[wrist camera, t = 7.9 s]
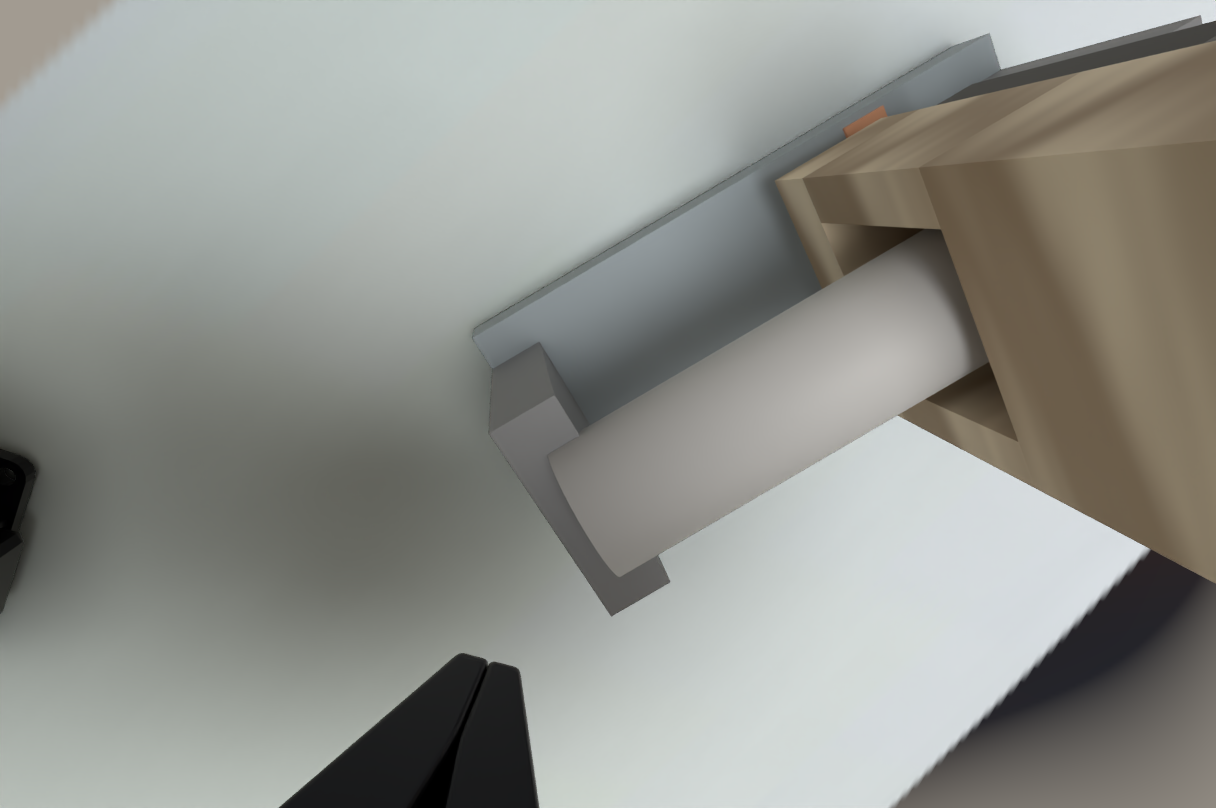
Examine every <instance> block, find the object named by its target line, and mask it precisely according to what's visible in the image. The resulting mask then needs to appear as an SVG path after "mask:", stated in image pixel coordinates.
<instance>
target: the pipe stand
mask: <svg viewBox="0 0 1216 808" xmlns="http://www.w3.org/2000/svg"><path fill="white" fill-rule="evenodd" d="M1198 25H1202V20H1201V15H1200V16H1196V17H1193V18H1189V19H1185V20H1182V21H1178V22H1174V23H1171V24H1167V25H1163V26H1160V27H1156V28H1152V29H1149V30H1145V31H1141V32H1138V33H1134V34H1130V35H1127V36H1123V37H1119V38H1116V39H1112V40H1108V41H1105V42H1101V43H1097V44H1094V45H1090V46H1086V47H1083V48H1079V49H1075V50H1072V51H1068V52H1064V53H1061V54H1057V55H1053V56H1050V57H1046V58H1042V59H1039V60H1035V61H1031V62H1028V63H1024V64H1020V65H1017V66H1013V67H1009V68H1006V69H1002V70H1001V69H1000V66H999V62H998V59H997V56H996V53H995V49H994V46H993V43H992V40H991V36H990V33H989V34H986V35H983V36H980V37H978V38H975V39H972V40H969V41H966V42H963V43H961V44H958V45H955V46H953V47H951V48H949V49H948V50H946V51H944V52H943V53H941V54H939V55H937V56H936V57H934V58H932V59H931V60H929V61H927V62H926V63H924V64H922V65H920V66H919V67H917V68H915V69H914V70H912V71H910V72H909V73H907V74H905V75H904V76H902V77H900V78H898V79H897V80H895V81H893V82H892V83H890V84H888V85H887V86H885V87H883V88H881V89H880V90H878V91H876V92H875V93H873V94H871V95H870V96H868V97H866V98H865V99H863V100H861V101H859V102H858V103H856V104H854V105H853V106H851V107H849V108H848V109H846V110H844V111H843V112H841V113H839V114H837V115H836V116H834V117H832V118H831V119H829V120H827V121H826V122H824V123H822V124H820V125H819V126H817V127H815V128H814V129H812V130H810V131H809V132H807V133H805V134H804V135H802V136H800V137H798V138H797V139H795V140H793V141H792V142H790V143H788V144H787V145H785V146H783V147H781V148H780V149H778V150H776V151H775V152H773V153H771V154H770V155H768V156H766V157H765V158H763V159H761V160H759V161H758V162H756V163H754V164H753V165H751V166H749V167H748V168H746V169H744V170H742V171H741V172H739V173H737V174H736V175H734V176H732V177H731V178H729V179H727V180H726V181H724V182H722V183H720V184H719V185H717V186H715V187H714V188H712V189H710V190H709V191H707V192H705V193H703V194H702V195H700V196H698V197H697V198H695V199H693V200H692V201H690V202H688V203H687V204H685V205H683V206H681V207H680V208H678V209H676V210H675V211H673V212H671V213H670V214H668V215H666V216H664V217H663V218H661V219H659V220H658V221H656V222H654V223H653V224H651V225H649V226H648V227H646V228H644V229H642V230H641V231H639V232H637V233H636V234H634V235H632V236H631V237H629V238H627V239H625V240H624V241H622V242H620V243H619V244H617V245H615V246H614V247H612V248H610V249H609V250H607V251H605V252H603V253H602V254H600V255H598V256H597V257H595V258H593V259H592V260H590V261H588V262H586V263H585V264H583V265H581V266H580V267H578V268H576V269H575V270H573V271H571V272H570V273H568V274H566V275H564V276H563V277H561V278H559V279H558V280H556V281H554V282H553V283H551V284H549V285H547V286H546V287H544V288H542V289H541V290H539V291H537V292H536V293H534V294H532V295H531V296H529V297H527V298H525V299H524V300H522V301H520V302H519V303H517V304H515V305H514V306H512V307H510V308H508V309H507V310H505V311H503V312H502V313H500V314H498V315H497V316H495V317H493V318H492V319H490V320H488V321H486V322H485V323H483V324H481V325H480V326H478V327H476V328H475V329H474V332H473V337H472V339H473V340H474V342H475V344H476V345H477V347H478V348H479V350H480V351H481V353H482V354H483V356H484V357H485V359H486V361H487V362H488V364H489V365H490V367H491V368H492V381H491V399H490V417H489V435H490V436H491V438H492V439H493V441H494V442H495V444H496V445H497V447H498V448H499V450H500V451H501V453H502V454H503V456H504V457H505V459H506V460H507V462H508V463H509V465H510V466H511V468H512V469H513V471H514V472H515V474H516V475H517V477H518V478H519V480H520V481H521V483H522V484H523V486H524V487H525V489H526V490H527V492H528V493H529V495H530V496H531V497H532V499H533V500H534V502H535V503H536V505H537V506H538V508H539V509H540V511H541V512H542V514H543V515H544V517H545V518H546V520H547V521H548V523H549V524H550V526H551V527H552V529H553V530H554V532H555V533H556V535H557V536H558V538H559V539H560V541H561V542H562V544H563V545H564V547H565V548H566V550H567V551H568V553H569V554H570V556H571V557H572V559H573V560H574V561H575V563H576V564H577V566H578V567H579V569H580V570H581V572H582V573H583V575H584V576H585V578H586V579H587V581H588V582H589V584H590V585H591V587H592V588H593V590H594V591H595V593H596V594H597V596H598V597H599V599H600V600H601V602H602V603H603V605H604V606H605V608H606V609H607V611H608V612H609V614H610V615H611V616H613V615H615V614H616V613H618V612H620V611H622V610H623V609H625V608H627V607H628V606H630V605H632V604H634V603H635V602H637V601H639V600H640V599H642V598H644V597H646V596H647V595H649V594H651V593H652V592H654V591H656V590H658V589H659V588H661V587H663V586H664V585H666V584H668V583H670V580H669V578H668V576H667V573H666V571H665V569H664V567H663V565H662V562H661V560H660V558H659V556H658V555H659V554H660V553H662V552H664V551H666V550H667V549H669V548H671V547H672V546H674V545H676V544H678V543H679V542H681V541H683V540H684V539H686V538H688V537H690V536H691V535H693V534H695V533H696V532H698V531H700V530H702V529H703V528H705V527H707V526H708V525H710V524H712V523H714V522H715V521H717V520H719V519H720V518H722V517H724V516H726V515H727V514H729V513H731V512H732V511H734V510H736V509H738V508H739V507H741V506H743V505H744V504H746V503H748V502H750V501H751V500H753V499H755V498H756V497H758V496H760V495H762V494H763V493H765V492H767V491H768V490H770V489H772V488H774V487H775V486H777V485H779V484H781V483H782V482H784V481H786V480H787V479H789V478H791V477H793V476H794V475H796V474H798V473H799V472H801V471H803V470H805V469H806V468H808V467H810V466H811V465H813V464H815V463H817V462H818V461H820V460H822V459H823V458H825V457H827V456H829V455H830V454H832V453H834V452H835V451H837V450H839V449H841V448H842V447H844V446H846V445H847V444H849V443H851V442H853V441H854V440H856V439H858V438H859V437H861V436H863V435H865V434H866V433H868V432H870V431H871V430H873V429H875V428H877V427H878V426H880V425H882V424H883V423H885V422H887V421H889V420H890V419H892V418H894V417H895V416H897V415H899V414H901V413H902V412H904V411H906V410H907V409H909V408H911V407H913V406H914V405H916V404H918V403H919V402H921V401H923V400H925V399H926V398H928V397H930V396H931V395H933V394H935V393H937V392H938V391H940V390H942V389H943V388H945V387H947V386H949V385H950V384H952V383H954V382H955V381H957V380H959V379H961V378H962V377H964V376H966V375H967V374H969V373H971V372H973V371H974V370H976V369H978V368H979V367H981V366H983V365H985V364H986V363H988V362H989V360H988V357H987V354H986V351H985V349H984V346H983V343H982V340H981V338H980V335H979V332H978V329H977V327H976V324H975V321H974V318H973V316H972V313H971V310H970V307H969V305H968V302H967V299H966V296H965V294H964V291H963V288H962V285H961V283H960V280H959V277H958V274H957V272H956V269H955V266H954V263H953V261H952V258H951V255H950V253H949V250H948V247H947V244H946V242H945V239H944V236H943V233H942V231H941V229H924V230H922V231H920V232H919V233H917V234H915V235H913V236H912V237H910V238H908V239H907V240H905V241H903V242H902V243H900V244H898V245H896V246H895V247H893V248H891V249H890V250H888V251H886V252H884V253H883V254H881V255H879V256H878V257H876V258H874V259H873V260H871V261H869V262H867V263H866V264H864V265H862V266H861V267H859V268H857V269H856V270H854V271H852V272H850V273H849V274H847V275H845V276H844V277H842V278H840V279H838V280H837V281H835V282H833V283H832V284H830V285H828V286H827V287H825V288H823V289H822V288H821V285H820V283H819V281H818V279H817V276H816V274H815V272H814V270H813V267H812V265H811V263H810V260H809V258H808V256H807V254H806V251H805V249H804V247H803V245H802V242H801V240H800V238H799V235H798V233H797V231H796V229H795V226H794V224H793V222H792V220H791V217H790V215H789V213H788V211H787V208H786V206H785V204H784V201H783V199H782V197H781V195H780V192H779V190H778V188H777V186H776V183H775V180H777V179H779V178H780V177H782V176H784V175H785V174H787V173H789V172H790V171H792V170H794V169H796V168H797V167H799V166H801V165H802V164H804V163H806V162H807V161H809V160H811V159H812V158H814V157H816V156H818V155H819V154H821V153H823V152H824V151H826V150H828V149H829V148H831V147H833V146H835V145H836V144H838V143H840V142H841V141H843V140H845V139H846V138H848V137H850V136H852V135H853V134H855V133H857V132H858V131H860V130H862V129H863V128H865V127H867V126H868V125H870V124H872V123H874V122H875V121H877V120H879V119H880V118H884V117H888V116H892V115H897V114H901V113H905V112H910V111H914V110H918V109H923V108H927V107H931V106H936V105H937V104H939V103H941V102H942V101H944V100H946V99H948V98H949V97H951V96H953V95H954V94H956V93H958V92H959V91H961V90H963V89H964V88H966V87H968V86H970V85H971V84H974V83H978V82H982V81H986V80H989V79H993V78H997V77H1001V76H1005V75H1009V74H1013V73H1016V72H1020V71H1024V70H1028V69H1032V68H1036V67H1040V66H1043V65H1047V64H1051V63H1055V62H1059V61H1063V60H1067V59H1070V58H1074V57H1078V56H1082V55H1086V54H1090V53H1094V52H1097V51H1101V50H1105V49H1109V48H1113V47H1117V46H1121V45H1124V44H1128V43H1132V42H1136V41H1140V40H1144V39H1148V38H1151V37H1155V36H1159V35H1163V34H1167V33H1171V32H1175V31H1178V30H1182V29H1186V28H1190V27H1194V26H1198Z"/></svg>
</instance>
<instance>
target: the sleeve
mask: <svg viewBox="0 0 1216 808" xmlns="http://www.w3.org/2000/svg"><path fill="white" fill-rule="evenodd" d="M775 183H776V186H777V188H778V190H779V192H780V195H781V197H782V199H783V201H784V204H785V206H786V208H787V211H788V213H789V215H790V217H791V220H792V222H793V224H794V226H795V229H796V231H797V233H798V235H799V238H800V240H801V242H802V245H803V247H804V249H805V251H806V254H807V256H808V258H809V260H810V263H811V265H812V267H813V270H814V272H815V274H816V276H817V279H818V281H819V283H820V285H821V288H822V289H823V288H825V287H827V286H828V285H830V284H832V283H833V282H835V281H837V280H838V279H840V278H842V277H844V276H845V275H847V274H849V273H850V272H852V271H854V270H856V269H857V268H859V267H861V266H862V265H864V264H866V263H867V262H869V261H871V260H873V259H874V258H876V257H878V256H879V255H881V254H883V253H884V252H886V251H888V250H890V249H891V248H893V247H895V246H896V245H898V244H900V243H902V242H903V241H905V240H907V239H908V238H910V237H912V236H913V235H915V234H917V233H919V232H920V231H922V230H924V229H941V231H942V233H943V236H944V239H945V242H946V244H947V247H948V250H949V253H950V255H951V258H952V261H953V263H954V266H955V269H956V272H957V274H958V277H959V280H960V283H961V285H962V288H963V291H964V294H965V296H966V299H967V302H968V305H969V307H970V310H971V313H972V316H973V318H974V321H975V324H976V327H977V329H978V332H979V335H980V338H981V340H982V343H983V346H984V349H985V351H986V354H987V357H988V360H989V362H988V363H986V364H985V365H983V366H981V367H979V368H978V369H976V370H974V371H973V372H971V373H969V374H967V375H966V376H964V377H962V378H961V379H959V380H957V381H955V382H954V383H952V384H950V385H949V386H947V387H945V388H943V389H942V390H940V391H938V392H937V393H935V394H933V395H931V396H930V397H928V398H926V399H925V400H923V401H921V402H919V403H918V404H916V405H914V406H913V407H911V408H909V409H907V410H906V411H904V412H902V413H901V414H899V415H898V416H900V417H902V418H903V419H905V420H907V421H909V422H911V423H913V424H915V425H917V426H919V427H920V428H922V429H924V430H926V431H928V432H930V433H932V434H934V435H936V436H938V437H939V438H941V439H943V440H945V441H947V442H949V443H951V444H953V445H955V446H956V447H958V448H960V449H962V450H964V451H966V452H968V453H970V454H972V455H973V456H975V457H977V458H979V459H981V460H983V461H985V462H987V463H989V464H991V465H992V466H994V467H996V468H998V469H1000V470H1002V471H1004V472H1006V473H1008V474H1009V475H1011V476H1013V477H1015V478H1017V479H1019V480H1021V481H1023V482H1025V483H1027V484H1028V485H1030V486H1032V487H1034V488H1036V489H1038V490H1040V491H1042V492H1044V493H1045V494H1047V495H1049V496H1051V497H1053V498H1055V499H1057V500H1059V501H1061V502H1063V503H1064V504H1066V505H1068V506H1070V507H1072V508H1074V509H1076V510H1078V511H1080V512H1081V513H1083V514H1085V515H1087V516H1089V517H1091V518H1093V519H1095V520H1097V521H1098V522H1100V523H1102V524H1104V525H1106V526H1108V527H1110V528H1112V529H1114V530H1116V531H1117V532H1119V533H1121V534H1123V535H1125V536H1127V537H1129V538H1131V539H1133V540H1134V541H1136V542H1138V543H1140V544H1142V545H1144V546H1146V547H1148V548H1150V549H1152V550H1153V551H1155V552H1157V553H1159V554H1161V555H1163V556H1165V557H1167V558H1169V559H1171V560H1172V561H1174V562H1176V563H1178V564H1180V565H1182V566H1184V567H1186V568H1188V569H1190V570H1191V571H1193V572H1195V573H1197V574H1199V575H1201V576H1203V577H1205V578H1207V579H1208V580H1210V581H1212V582H1214V583H1216V41H1212V42H1208V43H1204V44H1199V45H1195V46H1191V47H1186V48H1182V49H1178V50H1173V51H1169V52H1165V53H1160V54H1156V55H1152V56H1147V57H1143V58H1139V59H1134V60H1130V61H1126V62H1121V63H1117V64H1113V65H1109V66H1104V67H1100V68H1096V69H1091V70H1087V71H1083V72H1078V73H1074V74H1070V75H1065V76H1061V77H1057V78H1052V79H1048V80H1044V81H1039V82H1035V83H1031V84H1026V85H1022V86H1018V87H1013V88H1009V89H1005V90H1000V91H996V92H992V93H988V94H983V95H979V96H975V97H970V98H966V99H962V100H957V101H953V102H949V103H944V104H940V105H936V106H931V107H927V108H923V109H918V110H914V111H910V112H905V113H901V114H897V115H892V116H888V117H884V118H880V119H879V120H877V121H875V122H874V123H872V124H870V125H868V126H867V127H865V128H863V129H862V130H860V131H858V132H857V133H855V134H853V135H852V136H850V137H848V138H846V139H845V140H843V141H841V142H840V143H838V144H836V145H835V146H833V147H831V148H829V149H828V150H826V151H824V152H823V153H821V154H819V155H818V156H816V157H814V158H812V159H811V160H809V161H807V162H806V163H804V164H802V165H801V166H799V167H797V168H796V169H794V170H792V171H790V172H789V173H787V174H785V175H784V176H782V177H780V178H779V179H777V180H775Z"/></svg>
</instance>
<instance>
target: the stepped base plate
mask: <svg viewBox="0 0 1216 808" xmlns="http://www.w3.org/2000/svg"><path fill="white" fill-rule="evenodd" d="M1212 41H1216V21H1213V22H1209V23H1205V24H1202V25H1198V26H1194V27H1190V28H1186V29H1182V30H1178V31H1175V32H1171V33H1167V34H1163V35H1159V36H1155V37H1151V38H1148V39H1144V40H1140V41H1136V42H1132V43H1128V44H1124V45H1121V46H1117V47H1113V48H1109V49H1105V50H1101V51H1097V52H1094V53H1090V54H1086V55H1082V56H1078V57H1074V58H1070V59H1067V60H1063V61H1059V62H1055V63H1051V64H1047V65H1043V66H1040V67H1036V68H1032V69H1028V70H1024V71H1020V72H1016V73H1013V74H1009V75H1005V76H1001V77H997V78H993V79H989V80H986V81H982V82H978V83H974V84H971V85H970V86H968V87H966V88H964V89H963V90H961V91H959V92H958V93H956V94H954V95H953V96H951V97H949V98H948V99H946V100H944V101H942V102H941V103H939V104H937V105H940V104H944V103H949V102H953V101H957V100H962V99H966V98H970V97H975V96H979V95H983V94H988V93H992V92H996V91H1000V90H1005V89H1009V88H1013V87H1018V86H1022V85H1026V84H1031V83H1035V82H1039V81H1044V80H1048V79H1052V78H1057V77H1061V76H1065V75H1070V74H1074V73H1078V72H1083V71H1087V70H1091V69H1096V68H1100V67H1104V66H1109V65H1113V64H1117V63H1121V62H1126V61H1130V60H1134V59H1139V58H1143V57H1147V56H1152V55H1156V54H1160V53H1165V52H1169V51H1173V50H1178V49H1182V48H1186V47H1191V46H1195V45H1199V44H1204V43H1208V42H1212Z"/></svg>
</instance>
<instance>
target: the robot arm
mask: <svg viewBox="0 0 1216 808" xmlns="http://www.w3.org/2000/svg"><path fill="white" fill-rule="evenodd" d="M5 468H8V469H9V470H11V471H13V473H14V474H15V475H16V480H14V479H11V478H9V477H8V476H7V475H6V473H5ZM35 473H36V471H35V469H34V466H33V464H32V463H31V462H30V461H29V460H28V459H26V458H24V457H22V456H20V455H17V454H14V453H11V452H8V451H5V450H2V449H0V614H1V613H2V611H3V609H4V606H5V602H6V599H7V596H8V593H9V590H10V586H11V583H12V580H13V577H14V574H15V570H16V567H17V564H18V561H19V558H20V554H21V551H22V548H23V545H24V541H23V538H22V535H21V533H20V532H19V528H20V525H21V522H22V519H23V515H24V512H25V509H26V506H27V503H28V499H29V496H30V493H31V490H32V486H33V483H34V480H35ZM279 808H539V802H538V795H537V787H536V780H535V773H534V766H533V759H532V752H531V745H530V738H529V731H528V724H527V717H526V710H525V702H524V695H523V688H522V681H521V675H520V671H519V670H518V668H516V667H513V666H509V665H506V664H502V663H498V662H491V663H490V664H489V665H488V662H487V661H486V659H483V658H480V657H476V656H473V655H469V654H465V653H460V654H458V655H456V656H455V657H454V658H452V659H451V660H450V661H449V662H448V663H447V664H445V665H444V666H443V667H442V668H441V669H440V670H439V671H437V672H436V673H435V674H434V675H433V676H432V677H430V678H429V679H428V680H427V681H426V682H425V683H423V684H422V685H421V686H420V687H419V688H418V689H416V690H415V691H414V692H413V693H412V694H411V695H409V696H408V697H407V698H406V699H405V700H404V701H402V702H401V703H400V704H399V705H398V706H397V707H395V708H394V709H393V710H392V711H391V712H390V713H388V714H387V715H386V716H385V717H384V718H383V719H381V720H380V721H379V722H378V723H377V724H376V725H374V726H373V727H372V728H371V729H370V730H369V731H367V732H366V733H365V734H364V735H363V736H362V737H360V738H359V739H358V740H357V741H356V742H355V743H353V744H352V745H351V746H350V747H349V748H348V749H347V750H345V751H344V752H343V753H342V754H341V755H340V756H338V757H337V758H336V759H335V760H334V761H333V762H331V763H330V764H329V765H328V766H327V767H326V768H324V769H323V770H322V771H321V772H320V773H319V774H317V775H316V776H315V777H314V778H313V779H312V780H310V781H309V782H308V783H307V784H306V785H305V786H303V787H302V788H301V789H300V790H299V791H298V792H296V793H295V794H294V795H293V796H292V797H291V798H289V799H288V800H287V801H286V802H285V803H284V804H282V805H281V806H280V807H279Z"/></svg>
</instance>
